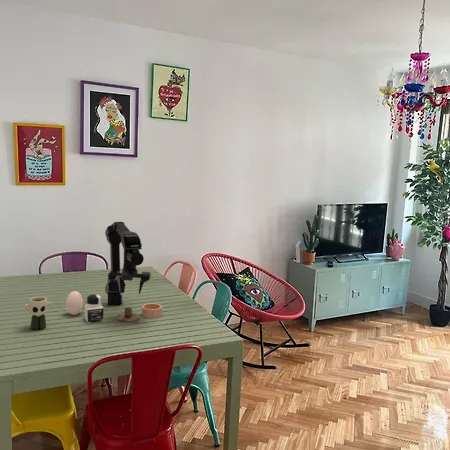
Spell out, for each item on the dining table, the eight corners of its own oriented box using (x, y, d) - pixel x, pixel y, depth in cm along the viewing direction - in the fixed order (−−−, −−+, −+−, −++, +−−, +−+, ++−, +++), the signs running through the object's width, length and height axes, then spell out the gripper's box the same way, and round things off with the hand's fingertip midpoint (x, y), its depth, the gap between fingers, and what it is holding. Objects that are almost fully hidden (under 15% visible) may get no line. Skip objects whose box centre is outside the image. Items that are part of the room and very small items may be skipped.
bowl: (140, 318, 215) (140, 309, 214) (143, 311, 224) (143, 302, 223) (160, 319, 215) (160, 310, 214) (162, 312, 224) (163, 303, 224)
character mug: (25, 332, 192) (25, 302, 190) (23, 326, 198) (23, 297, 196) (53, 329, 197) (52, 300, 195) (50, 323, 203) (50, 295, 201)
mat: (113, 323, 207) (113, 322, 207) (118, 315, 218) (118, 314, 218) (137, 324, 207) (137, 323, 207) (141, 316, 218) (141, 315, 218)
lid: (114, 322, 207) (115, 311, 206) (119, 314, 217) (119, 304, 216) (137, 322, 207) (137, 312, 207) (140, 315, 217) (140, 305, 217)
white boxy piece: (87, 324, 204) (87, 298, 202) (84, 319, 210) (84, 294, 209) (103, 322, 208) (103, 297, 206) (100, 317, 214) (100, 292, 212)
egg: (78, 310, 221) (78, 287, 220) (86, 315, 216) (86, 291, 214) (62, 313, 216) (62, 290, 214) (70, 318, 210) (70, 294, 208)
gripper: (105, 263, 200) (105, 298, 202) (148, 265, 201) (147, 299, 203) (110, 258, 211) (110, 290, 213) (151, 259, 212) (150, 292, 214)
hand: (129, 293), depth 211 cm, fingers open, 9 cm apart
